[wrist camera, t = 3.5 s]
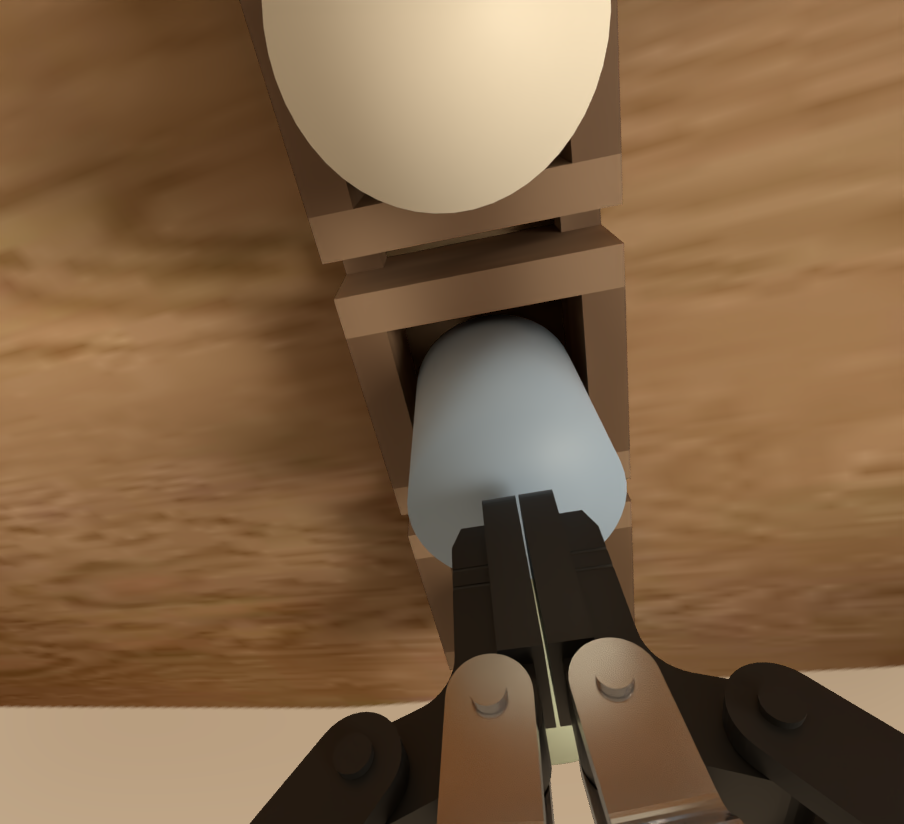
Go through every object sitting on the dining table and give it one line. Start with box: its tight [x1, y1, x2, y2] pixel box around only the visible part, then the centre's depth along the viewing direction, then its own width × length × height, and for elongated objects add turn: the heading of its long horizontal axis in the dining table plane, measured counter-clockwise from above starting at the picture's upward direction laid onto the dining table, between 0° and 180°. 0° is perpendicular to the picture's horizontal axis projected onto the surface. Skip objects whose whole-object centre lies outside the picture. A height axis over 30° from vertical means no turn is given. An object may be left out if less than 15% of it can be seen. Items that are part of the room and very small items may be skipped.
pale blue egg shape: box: [407, 314, 627, 579], centre depth 15 cm, size 5×5×6 cm
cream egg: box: [262, 0, 611, 214], centre depth 10 cm, size 5×5×6 cm
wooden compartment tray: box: [239, 0, 635, 670], centre depth 18 cm, size 8×27×4 cm, turn 11°
